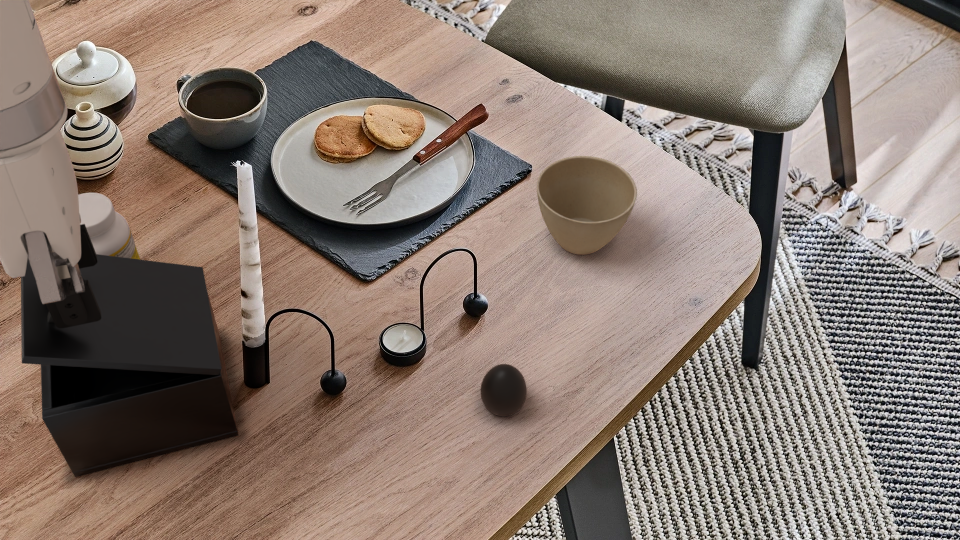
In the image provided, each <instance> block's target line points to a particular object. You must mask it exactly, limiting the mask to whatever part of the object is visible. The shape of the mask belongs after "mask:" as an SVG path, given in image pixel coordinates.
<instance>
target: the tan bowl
mask: <svg viewBox="0 0 960 540" xmlns="http://www.w3.org/2000/svg"><path fill="white" fill-rule="evenodd" d="M536 196H537V202H538V206H539V207H538V208H539V210H540V214H541V217H542V219H543V222H544V224H545V226H546V228H547V230H548V231H549V233H550V235H551V236H552V238H553V239H554V240H555V242H556V243H557V244H558V245H559V246H560V247H561V248H562V249H563V250H565V251H566V252H568V253H571V254H573V255H581V256H582V255H583V256H585V255H586V256H587V255H591V254H594V253H596V252H598V251H600V250H601V249H602V248H603V247H605V246H606V245H608V244H609V243H610V242H611V241H612V240H613V239H614V238H615V237H616V236H617V235H618V233H619V232H620V231H621V230H622V228H623V227H624V226H625V225H626V223H627V221H628V219H629V217H630V215H631V214H632V211H633V209H634V206H635V204H636V200H637V198H638V197H637V196H638V188H637V185H636V182H635V180H634V178H633V177H632V176H631V174H629V172H628V171H627V170H625V169H624V168H623V167H621V166H620V165H618V164H617V163H615V162H613V161H610V160H608V159H605V158H602V157H597V156H591V155H574V156H568V157H563V158H561V159H557V160H556V161H553V162H552V163H550V164H548V165H547V166H546V167H545V168H544V169H543V170H542V171H541V172H540V174H539V176H538V178H537V182H536Z"/></svg>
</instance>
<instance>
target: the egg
mask: <svg viewBox="0 0 960 540" xmlns="http://www.w3.org/2000/svg"><path fill="white" fill-rule="evenodd" d="M527 389H528V388H527V382H526V379H525V377H524V375H523V373H521V371H520V370H519V369H518V368H517V367H515V366H514V365H512V364H510V363H509V364H508V363H502V364H497V365H494V366H493V367H491V368H490V369H489V370H488V371H487V372H486V374H484V377H483V378H482V381H481V384H480V398H481V402H482V404H483V405H484V407H485V408H486V409H487V411H488V412H490V413H491V414H493V415H495V416H497V417H509V416H512V415H515V414H516V413H517V412H519V411H520V410H521V408H523V406H524V404H525V402H526V399H527V395H528V394H527V393H528V390H527Z"/></svg>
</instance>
